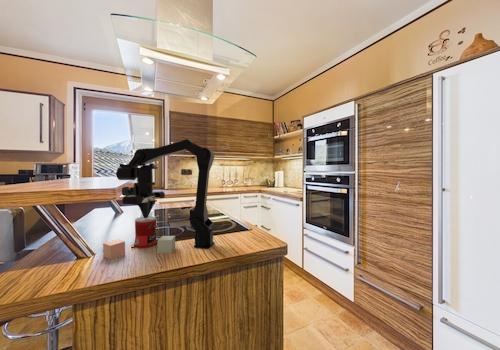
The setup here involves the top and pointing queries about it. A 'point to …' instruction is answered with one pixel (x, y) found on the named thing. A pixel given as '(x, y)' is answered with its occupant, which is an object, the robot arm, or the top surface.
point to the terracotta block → (113, 249)
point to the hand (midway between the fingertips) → (145, 218)
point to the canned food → (145, 231)
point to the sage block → (166, 244)
